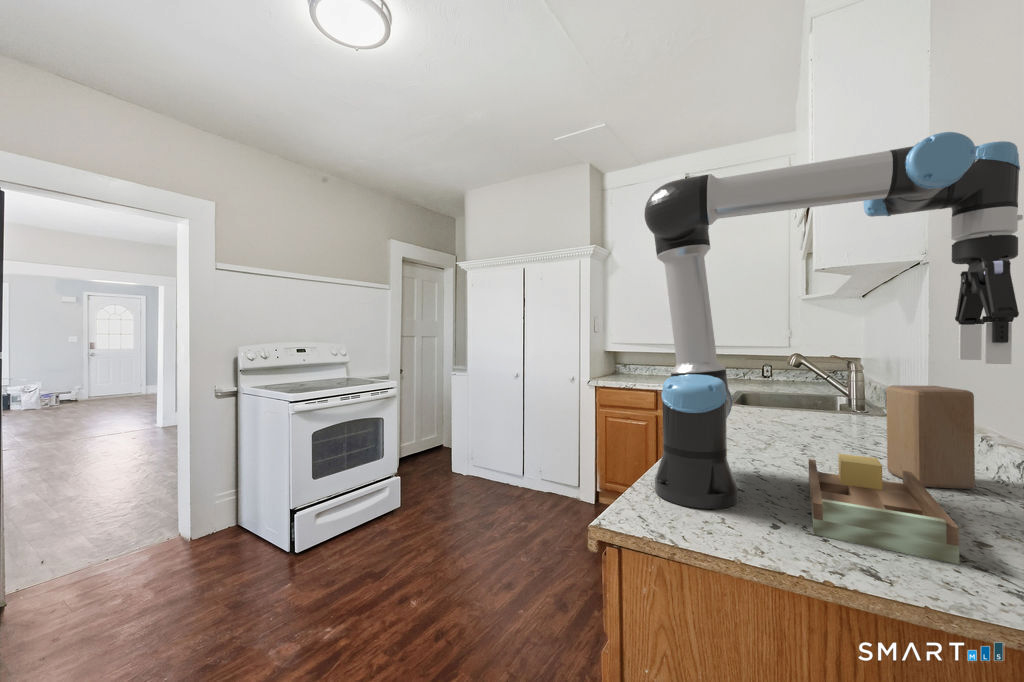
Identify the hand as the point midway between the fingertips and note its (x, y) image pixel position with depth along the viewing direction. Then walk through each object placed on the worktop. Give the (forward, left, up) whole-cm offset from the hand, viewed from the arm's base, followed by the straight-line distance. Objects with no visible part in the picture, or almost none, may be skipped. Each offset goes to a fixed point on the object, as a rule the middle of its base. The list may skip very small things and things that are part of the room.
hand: (982, 361), depth 71 cm
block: (-4, +18, -27) cm, 32 cm away
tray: (-17, -10, -27) cm, 33 cm away
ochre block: (-17, 0, -24) cm, 29 cm away
